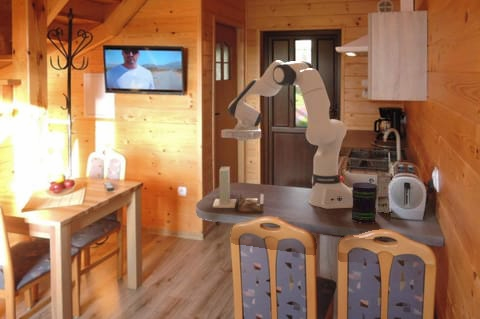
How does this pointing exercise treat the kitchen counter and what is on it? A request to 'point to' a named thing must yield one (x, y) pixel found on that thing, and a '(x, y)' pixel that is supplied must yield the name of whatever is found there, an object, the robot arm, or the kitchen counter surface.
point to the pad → (217, 205)
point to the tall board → (224, 185)
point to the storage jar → (364, 202)
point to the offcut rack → (251, 205)
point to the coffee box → (383, 192)
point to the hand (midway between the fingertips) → (240, 135)
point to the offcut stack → (251, 201)
